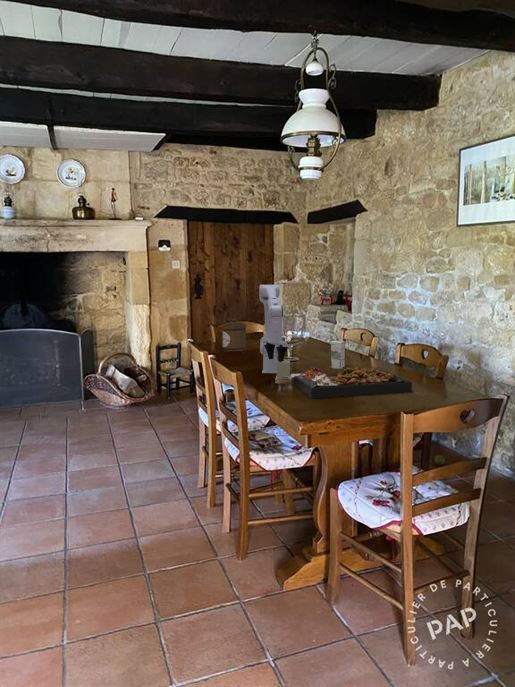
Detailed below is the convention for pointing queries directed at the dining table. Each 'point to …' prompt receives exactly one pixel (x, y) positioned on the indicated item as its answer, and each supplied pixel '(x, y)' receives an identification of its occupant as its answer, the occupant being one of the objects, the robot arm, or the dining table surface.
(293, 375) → the mat
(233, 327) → the brown lidded canister
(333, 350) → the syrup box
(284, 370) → the grey green block
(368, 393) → the food platter
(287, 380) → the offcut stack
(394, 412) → the dining table surface
